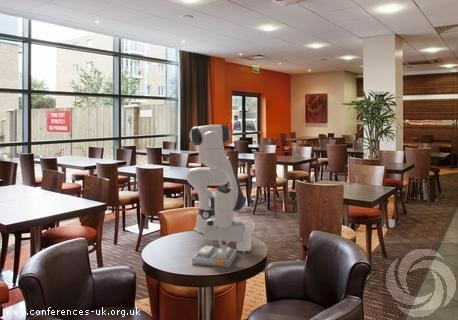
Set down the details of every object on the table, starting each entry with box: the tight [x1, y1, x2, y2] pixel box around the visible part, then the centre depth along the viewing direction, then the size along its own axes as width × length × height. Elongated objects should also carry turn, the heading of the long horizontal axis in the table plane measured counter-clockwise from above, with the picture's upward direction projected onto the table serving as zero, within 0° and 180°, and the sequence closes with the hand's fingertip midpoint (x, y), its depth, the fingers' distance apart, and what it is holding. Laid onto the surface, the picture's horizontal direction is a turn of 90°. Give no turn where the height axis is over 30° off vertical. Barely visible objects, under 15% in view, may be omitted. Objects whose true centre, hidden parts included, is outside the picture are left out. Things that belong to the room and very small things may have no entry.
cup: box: [235, 221, 256, 254], centre depth 206 cm, size 11×11×14 cm
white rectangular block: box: [217, 246, 232, 260], centre depth 193 cm, size 10×4×4 cm, turn 167°
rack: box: [191, 245, 238, 268], centre depth 194 cm, size 17×18×5 cm
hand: (223, 249), depth 193 cm, fingers closed
